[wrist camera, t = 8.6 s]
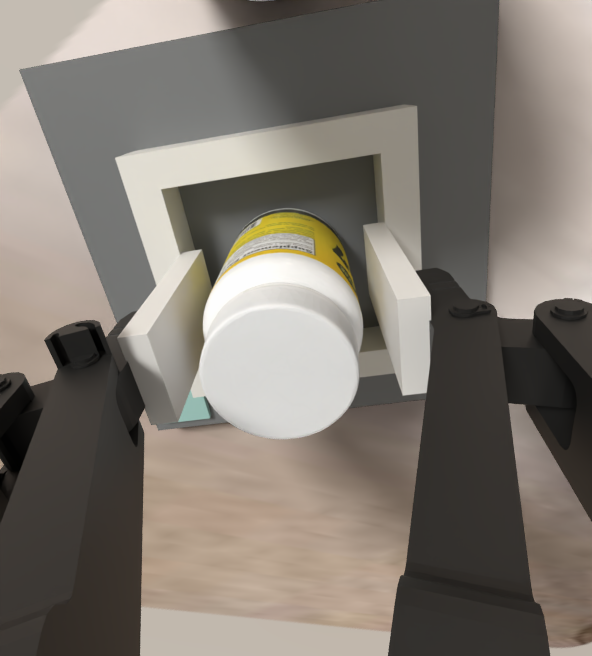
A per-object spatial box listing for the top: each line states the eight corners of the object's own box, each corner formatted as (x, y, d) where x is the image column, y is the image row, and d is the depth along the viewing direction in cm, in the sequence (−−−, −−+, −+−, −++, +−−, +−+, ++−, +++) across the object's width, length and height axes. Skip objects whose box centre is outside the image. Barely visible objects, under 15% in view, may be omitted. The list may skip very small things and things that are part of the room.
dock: (165, 415, 24) (146, 459, 21) (37, 71, 16) (-19, 66, 13) (473, 378, 22) (498, 419, 19) (486, -16, 15) (529, -40, 12)
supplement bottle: (347, 313, 19) (374, 451, 12) (239, 318, 20) (199, 457, 12) (345, 200, 17) (377, 284, 10) (223, 208, 17) (163, 296, 10)
